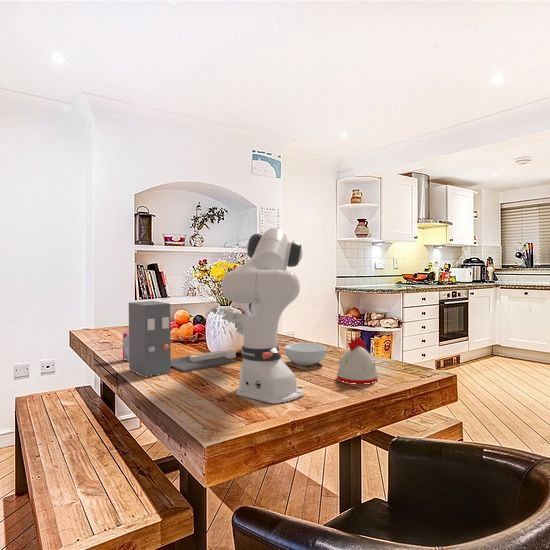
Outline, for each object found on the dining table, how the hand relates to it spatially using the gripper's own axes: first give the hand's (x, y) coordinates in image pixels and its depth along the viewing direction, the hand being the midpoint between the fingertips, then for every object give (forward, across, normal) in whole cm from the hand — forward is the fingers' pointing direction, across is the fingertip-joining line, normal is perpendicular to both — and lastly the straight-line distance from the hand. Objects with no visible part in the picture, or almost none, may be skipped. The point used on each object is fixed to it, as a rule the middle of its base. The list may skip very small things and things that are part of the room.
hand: (218, 310), depth 179 cm
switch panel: (+17, 0, +34) cm, 38 cm away
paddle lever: (-6, 0, +17) cm, 18 cm away
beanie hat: (-26, +59, +9) cm, 65 cm away
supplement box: (+14, -23, +32) cm, 42 cm away
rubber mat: (-1, 0, +23) cm, 23 cm away
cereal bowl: (-29, +31, +8) cm, 43 cm away
